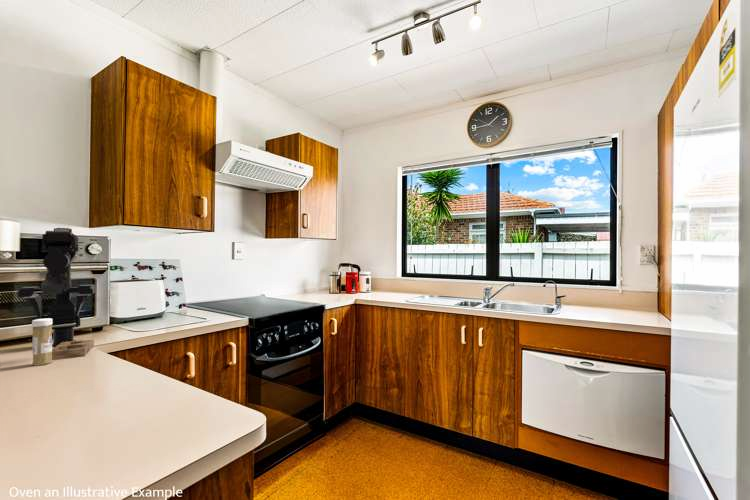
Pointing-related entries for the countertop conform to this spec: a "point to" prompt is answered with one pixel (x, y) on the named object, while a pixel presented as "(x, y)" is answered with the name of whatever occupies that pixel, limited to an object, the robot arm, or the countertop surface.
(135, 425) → the countertop surface
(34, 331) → the sprinkles bottle
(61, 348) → the socket board
